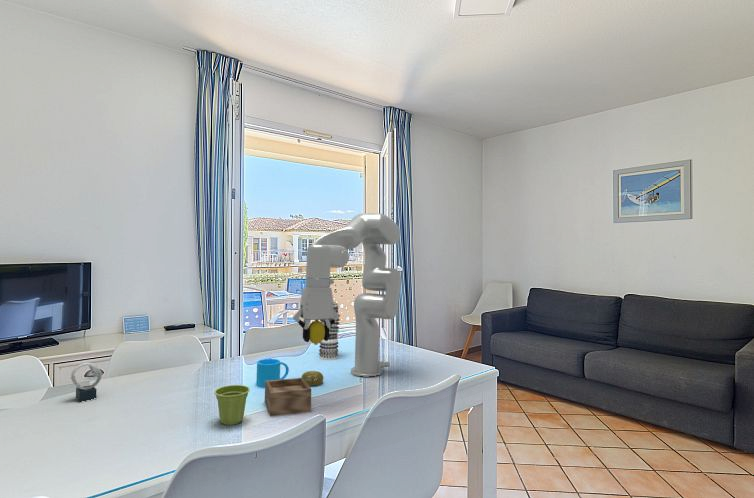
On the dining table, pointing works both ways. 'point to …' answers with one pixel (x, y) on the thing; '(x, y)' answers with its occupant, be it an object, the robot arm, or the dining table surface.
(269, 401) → the walnut box
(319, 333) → the lemon
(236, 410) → the plant pot
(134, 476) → the dining table surface
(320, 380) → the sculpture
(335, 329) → the decorative candle
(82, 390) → the watch
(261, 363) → the mug
